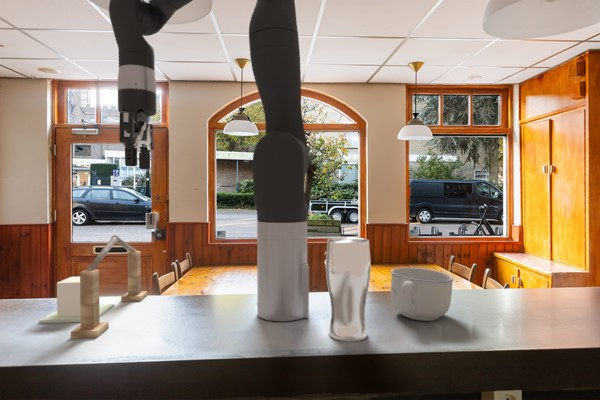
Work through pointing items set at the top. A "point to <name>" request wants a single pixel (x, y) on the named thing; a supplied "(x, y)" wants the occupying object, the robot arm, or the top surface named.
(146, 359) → the top surface
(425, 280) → the teacup
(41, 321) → the mat
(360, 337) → the beer glass
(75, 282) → the cream block
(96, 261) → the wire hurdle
